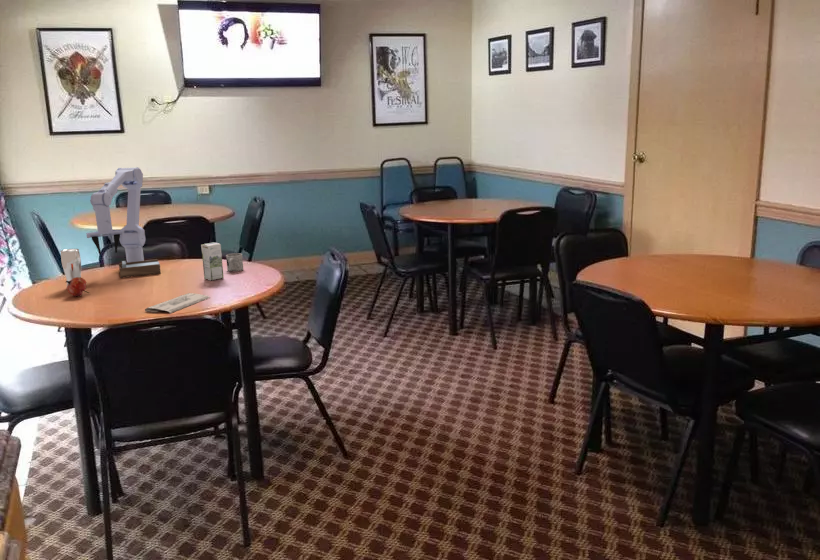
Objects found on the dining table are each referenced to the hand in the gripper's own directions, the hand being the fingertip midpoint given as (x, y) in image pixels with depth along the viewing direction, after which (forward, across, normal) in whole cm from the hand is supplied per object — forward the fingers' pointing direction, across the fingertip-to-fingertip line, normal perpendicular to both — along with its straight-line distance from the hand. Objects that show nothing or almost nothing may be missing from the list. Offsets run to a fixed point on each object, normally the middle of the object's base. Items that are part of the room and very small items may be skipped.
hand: (108, 253), depth 300 cm
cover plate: (+8, +12, 0) cm, 14 cm away
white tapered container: (+10, -14, -15) cm, 23 cm away
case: (+10, +12, 0) cm, 15 cm away
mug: (+10, +48, -19) cm, 53 cm away
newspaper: (+11, +20, -67) cm, 71 cm away
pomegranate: (+10, -12, -32) cm, 36 cm away
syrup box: (+10, +38, -31) cm, 50 cm away
